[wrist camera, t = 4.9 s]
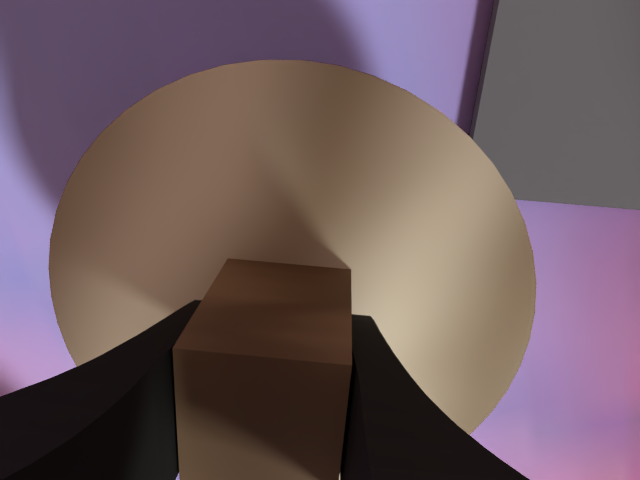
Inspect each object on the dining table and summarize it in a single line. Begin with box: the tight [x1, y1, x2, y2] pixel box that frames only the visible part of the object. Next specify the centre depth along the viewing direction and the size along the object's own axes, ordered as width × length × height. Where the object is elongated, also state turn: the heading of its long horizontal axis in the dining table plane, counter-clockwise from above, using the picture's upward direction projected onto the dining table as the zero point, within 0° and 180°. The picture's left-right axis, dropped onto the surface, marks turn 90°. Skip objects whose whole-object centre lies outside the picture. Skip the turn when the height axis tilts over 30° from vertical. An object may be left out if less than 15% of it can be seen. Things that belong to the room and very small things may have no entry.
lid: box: [49, 60, 536, 480], centre depth 11 cm, size 13×13×5 cm
